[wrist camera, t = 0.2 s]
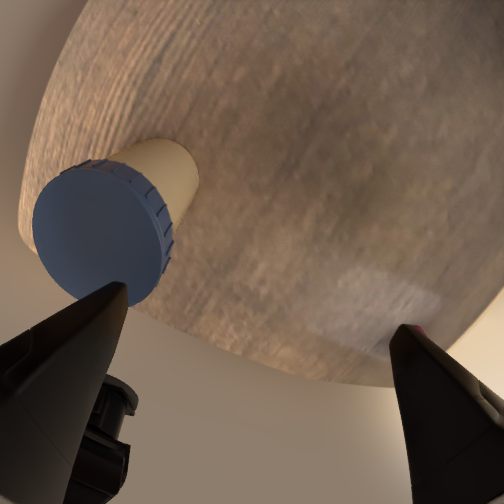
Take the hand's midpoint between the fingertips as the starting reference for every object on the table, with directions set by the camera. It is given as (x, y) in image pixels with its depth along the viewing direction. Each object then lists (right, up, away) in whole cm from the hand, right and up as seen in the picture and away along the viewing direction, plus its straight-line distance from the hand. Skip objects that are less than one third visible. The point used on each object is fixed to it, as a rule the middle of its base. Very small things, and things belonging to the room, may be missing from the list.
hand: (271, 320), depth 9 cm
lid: (-8, +2, +3) cm, 8 cm away
